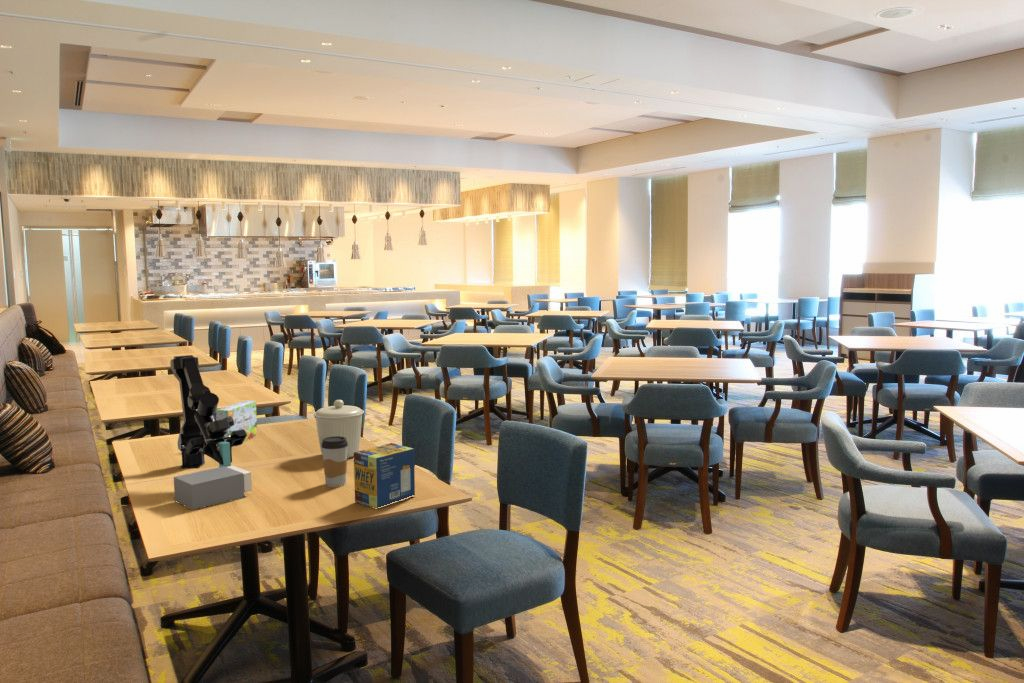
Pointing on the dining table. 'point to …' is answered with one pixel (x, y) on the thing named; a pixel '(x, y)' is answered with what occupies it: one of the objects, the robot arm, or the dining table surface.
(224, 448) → the teal white angled piece
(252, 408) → the snack box
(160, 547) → the dining table surface
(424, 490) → the dining table surface
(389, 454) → the protein box
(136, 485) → the dining table surface
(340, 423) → the canister
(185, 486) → the carton sleeve
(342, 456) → the coffee cup
